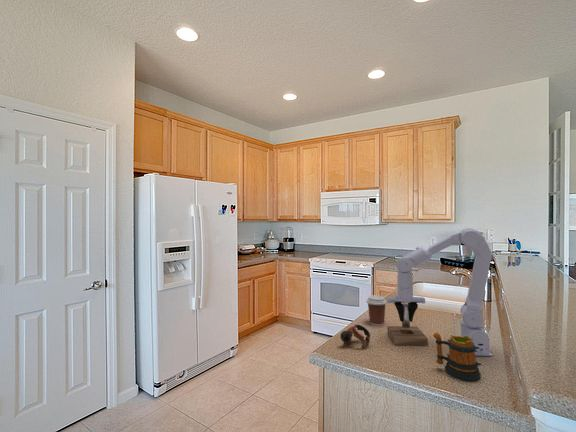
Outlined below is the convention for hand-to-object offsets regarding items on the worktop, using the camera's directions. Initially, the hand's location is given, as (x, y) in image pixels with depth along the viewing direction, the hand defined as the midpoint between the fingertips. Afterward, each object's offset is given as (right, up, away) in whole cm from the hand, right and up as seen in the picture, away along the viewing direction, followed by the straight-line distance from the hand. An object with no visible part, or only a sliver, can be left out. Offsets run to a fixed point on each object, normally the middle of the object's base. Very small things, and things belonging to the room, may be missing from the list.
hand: (406, 320), depth 117 cm
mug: (+6, -7, -26) cm, 27 cm away
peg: (0, -2, 0) cm, 2 cm away
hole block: (0, -7, 0) cm, 7 cm away
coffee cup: (-6, -8, +19) cm, 21 cm away
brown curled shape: (-22, -8, -4) cm, 24 cm away
